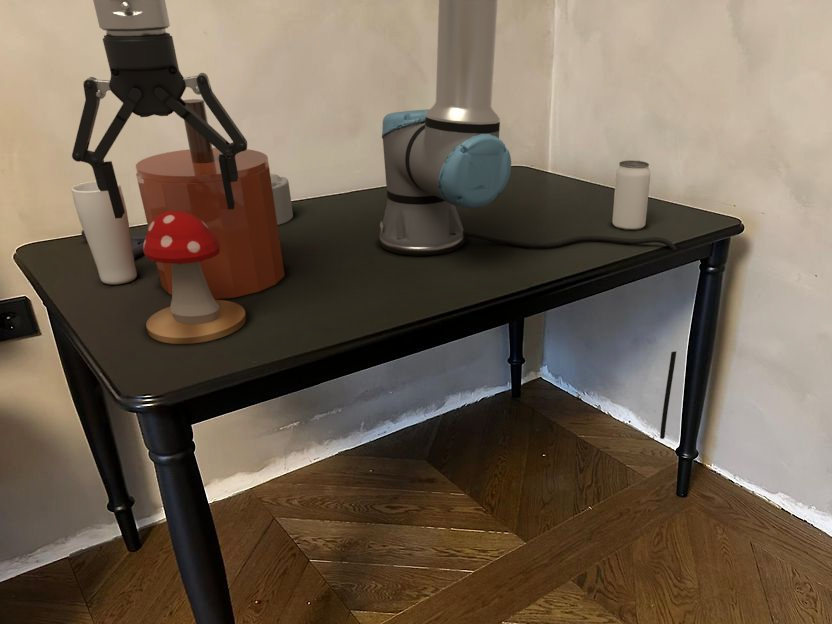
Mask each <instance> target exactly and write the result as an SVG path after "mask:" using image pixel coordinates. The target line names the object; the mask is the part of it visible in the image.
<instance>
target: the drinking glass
mask: <svg viewBox="0 0 832 624" xmlns="http://www.w3.org/2000/svg"><path fill="white" fill-rule="evenodd" d="M117 184H118V188H119V192H120V196H121V199H122V203H123V207H124V211H125V213H124V214H123V216H122V218H116V219H115V216H114V212H113V208H112V204H111V201H110V197H109V193H108V191H100V190H99V188H98V186H97V182H96V180H93V181H86V182H81V183H78V184H75V185H73V186H72V187H71V188H70V190H71V194H72V199H73V203H74V207H75V210H76V214H77V217H78V220H79V223H80V226H81V229H82V230H83V231H84V234H85V236H86V239H87V241H86V242H87V245H88V247H89V249H90V252H91V253H90V254H91V255H92V258H93V261H94V264H95V266H96V269H97V273H98V276H99V279H100V281H101V282H102V283H104V284H106V285H109V286H110V285H111V286H117V285H118V286H119V285H123V284H128V283H131V282H133V281H134V280H136V278H137V276H138V272H137V268H136V263H135V259H134V256H133V249H132V243H131V236H132V235H131V230H130V223H129V216H128V210H127V205H126V204H127V203H126V201H125V197H124V192H123V190H122V186H121V183H120V182H118V181H117Z"/></svg>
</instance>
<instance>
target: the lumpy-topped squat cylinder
mask: <svg viewBox="0 0 832 624" xmlns="http://www.w3.org/2000/svg"><path fill="white" fill-rule="evenodd" d="M270 174H271V181H272V188H273V195H274V202H275V209H276V216H277V223H278V226H279V225H281V224H282V225H283V224H285V223H287V222H289V221H291V220H292V219H293V217H294V213H293V205H292V196H291V190H290V183H289V179H288V178H287V177H284V176H279V175H278V174H276V173H271V172H270Z"/></svg>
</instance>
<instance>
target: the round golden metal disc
mask: <svg viewBox="0 0 832 624" xmlns="http://www.w3.org/2000/svg"><path fill="white" fill-rule="evenodd" d="M215 301H216V302H217V304H218V305H219V313H218V317H217V318H216V319H215V320H213V321H211V322H207V323H202V324H185V323H180V322H178V321H176V320H175V318H174V317H173V315H172V314H171V312H170V306H167V307H164V308H162V309H160V310H159V311H157V312H155V313H153V314H152V315H151V316H150V317H149V318H148V319H147V321H146V322H145V323H146V325H145V327H146V330H147V334H148V336H149V337H150V338H151V339H153V340H155V341H158V342H160V343H165V344H172V345H191V344H192V345H193V344H199V343H207V342H210V341H215V340H218V339H221V338H224V337H227V336H230V335H231V334H234V333H236V332H237V331H239V330H240V329H241V328H242V327H243V326H244V325H245V324H246V322H247V315H246V310H245V308H244V307H243V306H242V305H241V304H239V303H237V302H233V301H229V300H224V299H215Z"/></svg>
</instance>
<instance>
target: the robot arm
mask: <svg viewBox="0 0 832 624" xmlns="http://www.w3.org/2000/svg"><path fill="white" fill-rule="evenodd" d="M92 2H93V5H94V10H95V14H96V19H97V22H98V26H99V28H100V29H101V30H102V31H106V34H105V35H103V38H102V43H103V47H104V50H105V55H106V59H107V63H108V67H109V71H110V80H109V79H97V78H96V77H93V76H90V77H88V78H86V79H85V80H84V81H83V91H84V98H85V101H84V104H83V109H82V112H81V116H80V121H79V125H78V128H77V133H76V136H75V141H74V145H73V149H72V153H71V157H72V159H73V160H74V161H75V162H77V163H79V162H81V163H86V164H88V165H90V166H91V168H92V171H93V175H94V179H95V181H96V182H97V186H98V188H99V190H100V191H108V193H109V197H110V201H111V204H112V208H113V212H114V216H115V219H116V218H122V216H123V214H124V213H125V211H124V207H123V203H122V199H121V196H120V192H119V188H118V184H117V182H118V180H117V177H116V173H115V169H114V165H113V161H112V160H108V161H105V158H106V156H107V155H108V153H109V151H110V150H111V148H112V147H113V145H114V143H115V142H116V140H117V138H118V137H119V135H120V133H121V132H122V130H123V129H124V127H125V126H126V124H127V122H128V120H129V119H130V117H131V116H132V114H134V115H136V116H137V117H140V118H148V117H149V118H150V117H151V116H158V117H168V116H169V115H171V114H172V113H175V114H176V115H177V116H178V117H180V119H182V120H183V121H184V120H185V121H186V122H187V123H189V124H190V125H191V126H192V127H193V128H194V129H195V130H196V131H198V132H199V133H200V134H201V135H202V136H203V137H204V138H205V139H207V140H208V141H209V142H210V143H211V144H212V147H213V148H217V149H218V150H219V151H220V152H221V153H222V154H219V164H220V170H221V175H222V180H223V185H224V191H225V196H226V201H227V206H228V209H234V204H235V203H234V198H233V192H232V187H231V182H237V180H238V171H237V165H236V159H235V155H236V154H237V153H239V152H242V151H245V150H246V149H248V141H247V139H246V138H245V136H244V134H243V133H242V132H241V130H240V129H239V128H238V126H237V125H236V123H235V122H234V120H233V119H232V117H231V116H230V115H229V113H228V112H227V110H226V109H225V107H224V106H223V104H222V103H221V102H220V100H219V99H218V97H217V95H216V94H215V93H214V91H213V89H212V86H211V82H210V80H209V79H210V78H209V77H208V74H206V72H205V73H204V72H200V73H199V74H198V75H192V76H185V77H184V76H183V74H182V73H181V71H180V67H179V64H178V58H177V54H176V49H175V48H176V47H175V43H174V38H173V36H172V35H171V34H170V33H169V32H167V30H166V29H168V28H169V27H170V26H171V25H170V19H169V15H168V8H167V4H166V0H92ZM498 3H499V0H438V14H437V15H438V16H437V46H436V47H437V49H436V53H437V54H436V55H437V56H436V80H435V81H436V82H435V103H434V104H433V106H431V108H429V109H427V108H426V109H415V110H403V111H395V112H394V111H393V112H390V113H387V114H386V115H385V116H384V117H383V119H382V127H381V128H382V132H381V139H382V145H383V147H382V149H383V160H384V161H383V162H384V171H385V174H384V175H385V184H386V198H387V200H386V207H385V210H384V213H383V219H382V220H381V221H380V224H379V228H380V229H379V244H380V246H381V247H382V248H383V249H384V250H385V251H388V252H390V253H393V254H398V255H403V256H413V257H414V256H419V257H421V256H422V257H423V256H434V255H441V254H447V253H449V252H452V251H455V250H458V249H459V248H461V247H462V246H463V245H464V244H465V237H467V238H472V239H477V240H478V239H479V240H482V241H486V242H492V243H497V244H502V245H508V246H515V247H521V248H531V249H532V248H533V249H547V248H549V249H550V248H557V247H561V246H566V245H569V244H574V243H578V242H579V243H580V242H607V243H608V242H609V243H616V244H626V245H642V244H649V243H650V244H651V243H658V244H659V243H660V244H663V245H664V246H666V247H668V248H669V249H671V250H675V251H676V250H678V248H677V247H676V245H675V244H674V243H672V242H671V241H670V240H668V239H666V238H665V237H658V236H652V237H651V236H650V237H643V238H642V237H641V238H626V237H616V236H608V235H607V236H606V235H579V236H573V237H568V238H564V239H561V240H557V241H550V242H549V241H548V242H537V241H536V242H533V241H523V240H515V239H508V238H502V237H497V236H493V235H488V234H483V233H479V232H473V231H468V230H464V227H463V225H462V222H461V219H460V215H459V212H458V210H457V207H462V208H465V209H479V208H482V207H485V206H488V205H489V204H490V203H491V204H492V202H493V201H495V200H496V198H497V197H498V196H499V195H501V193H502V192H503V191H504V190H505V188H506V186H507V184H508V182H509V179H510V176H511V173H512V156H511V154H510V151H509V149H508V148H507V147H506V144H505V143H504V141H503V140H502V139H500V130H501V129H500V128H501V127H500V126H501V118H500V117H499V115H498V114H497V113H496V111H495V110H494V109H493V106H492V104H493V103H492V100H493V84H494V71H495V70H494V68H495V54H496V53H495V52H496V36H497V35H496V33H497V17H498ZM186 88H190V89H191V90H192V91H193V93H194V94H196V95H198V96H199V95H201V98H202V100H204V103H205V105H206V106H207V108H208V109H209V110H210V111H211V113H212V114H213V116H214V117H215V118H216V120H217V121H218V123H219V124H220V125H221V127H222V128H223V130H224V131H225V132H226V134H227V136H229V138H230V140H231V141H232V142H229V141H228V140H227V139H226V138H225V137H223V135H221V134H220V133H219V132H218V131H217V130H215V128H214V127H213V126H212V125H210V124H209V122H208V123H207V122H206V121H205V120H203V119H202V118H201V117H200V116H199V115H198V114H197V113H196V112H195V111H193V110H192V109H191V107H190V106H189V105H188V104H187V103H186V102H185V101H183V100H184V99H182V97H183V95H184V93H185V91H186ZM108 91H110V92H111V93H112V94H113V95H114V96H115V97H116V98H117V99H118V100H119V101H120V102H121V103H122V104H121V106H120V108H119V110H118V111H117V113H116V114H115V117H114V118H113V120H112V121H111V123H110V125H109V126H108V127H107V129H106V131H105V133H104V135H103V136H102V138H101V140H100V141H99V143H98V144H97V146H96V148H95V149H94V151H92V150H89V146H90V142H91V139H92V135H93V131H94V128H95V123H96V119H97V115H98V112H99V108H100V103H101V100H102V99H104V98H105V97H106V96H107V92H108ZM670 352H671V353H670V360H669V365H668V374H667V381H666V387H665V393H664V402H663V409H662V415H661V423H660V434H659V438H660V439H661V440H665V438H666V428H667V420H668V412H669V405H670V397H671V392H672V385H673V379H674V371H675V365H676V358H677V351H670Z"/></svg>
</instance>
